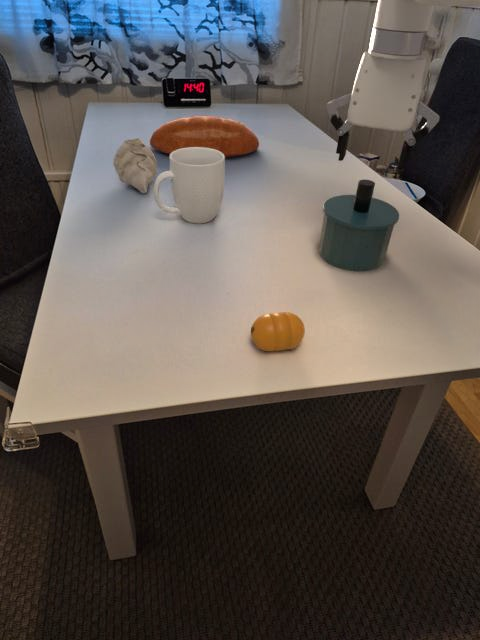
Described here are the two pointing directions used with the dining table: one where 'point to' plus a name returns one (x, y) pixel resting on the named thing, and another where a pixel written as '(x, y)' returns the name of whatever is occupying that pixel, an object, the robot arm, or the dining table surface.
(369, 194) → the lid
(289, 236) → the dining table surface
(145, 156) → the seashell
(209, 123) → the bread
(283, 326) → the orange ribbed oval piece
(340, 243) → the pot
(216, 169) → the mug
